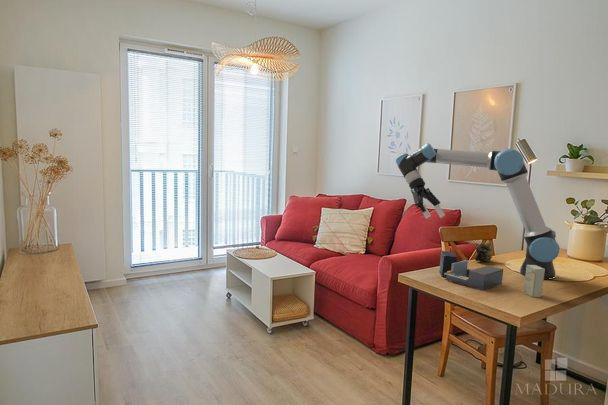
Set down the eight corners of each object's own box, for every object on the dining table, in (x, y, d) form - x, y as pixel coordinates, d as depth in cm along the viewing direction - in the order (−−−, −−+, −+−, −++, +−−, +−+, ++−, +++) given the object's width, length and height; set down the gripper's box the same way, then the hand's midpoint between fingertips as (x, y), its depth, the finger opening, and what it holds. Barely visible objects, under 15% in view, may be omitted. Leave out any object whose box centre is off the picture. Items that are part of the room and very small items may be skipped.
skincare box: (522, 292, 175) (525, 264, 173) (532, 292, 175) (535, 264, 173) (532, 297, 168) (535, 268, 167) (542, 297, 169) (545, 268, 167)
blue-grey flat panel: (466, 273, 196) (467, 260, 195) (447, 279, 186) (449, 265, 185) (464, 273, 197) (465, 260, 196) (445, 278, 187) (447, 264, 186)
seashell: (466, 258, 230) (468, 241, 229) (485, 258, 232) (487, 241, 231) (476, 263, 220) (478, 245, 219) (496, 263, 221) (498, 245, 220)
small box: (456, 278, 192) (457, 256, 190) (441, 277, 193) (443, 255, 192) (452, 272, 202) (454, 251, 201) (438, 271, 203) (440, 250, 202)
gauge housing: (501, 284, 185) (503, 269, 184) (481, 291, 174) (482, 275, 173) (465, 274, 199) (466, 260, 198) (443, 280, 188) (444, 265, 187)
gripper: (422, 185, 219) (442, 219, 211) (395, 184, 202) (416, 222, 193) (433, 177, 214) (454, 212, 206) (407, 176, 197) (428, 213, 189)
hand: (435, 217), depth 200 cm, fingers open, 13 cm apart
